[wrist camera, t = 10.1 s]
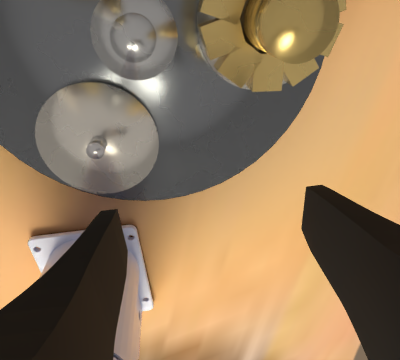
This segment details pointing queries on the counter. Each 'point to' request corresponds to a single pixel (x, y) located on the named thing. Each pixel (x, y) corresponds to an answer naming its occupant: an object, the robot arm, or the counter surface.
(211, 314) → the counter surface
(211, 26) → the planet gear
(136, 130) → the carrier
